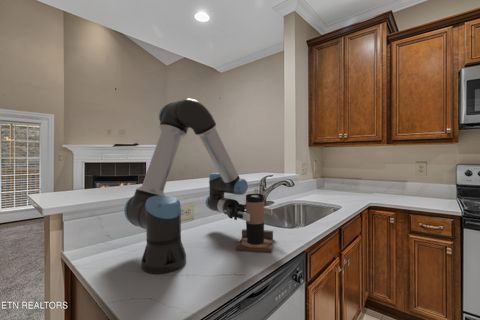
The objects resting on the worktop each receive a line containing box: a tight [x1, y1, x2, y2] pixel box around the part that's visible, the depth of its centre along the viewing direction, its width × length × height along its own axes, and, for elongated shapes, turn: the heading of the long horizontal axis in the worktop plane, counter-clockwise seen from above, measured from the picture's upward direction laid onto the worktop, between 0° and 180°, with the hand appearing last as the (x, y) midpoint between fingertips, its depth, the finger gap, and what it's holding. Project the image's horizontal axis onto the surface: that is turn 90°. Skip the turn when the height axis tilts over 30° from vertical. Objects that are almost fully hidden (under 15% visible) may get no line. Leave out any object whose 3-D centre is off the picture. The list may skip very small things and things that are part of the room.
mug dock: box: [235, 228, 274, 254], centre depth 101 cm, size 15×14×4 cm
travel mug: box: [245, 193, 265, 245], centre depth 101 cm, size 8×8×20 cm
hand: (261, 214), depth 98 cm, fingers open, 13 cm apart
